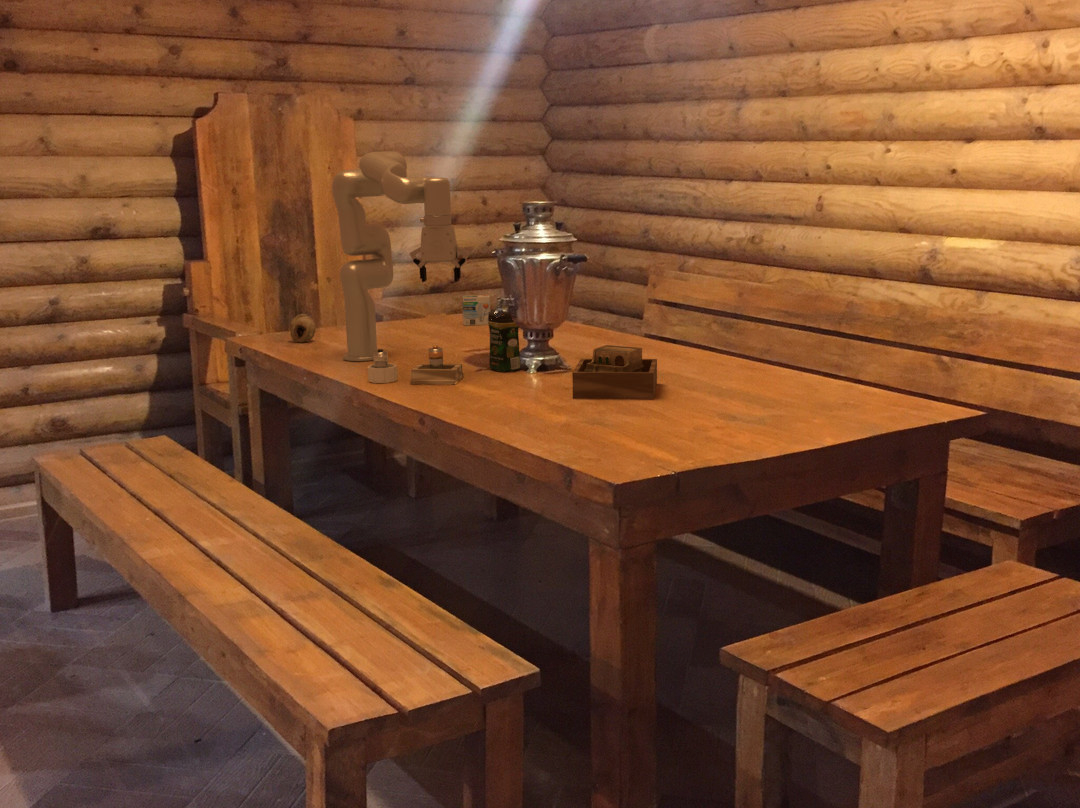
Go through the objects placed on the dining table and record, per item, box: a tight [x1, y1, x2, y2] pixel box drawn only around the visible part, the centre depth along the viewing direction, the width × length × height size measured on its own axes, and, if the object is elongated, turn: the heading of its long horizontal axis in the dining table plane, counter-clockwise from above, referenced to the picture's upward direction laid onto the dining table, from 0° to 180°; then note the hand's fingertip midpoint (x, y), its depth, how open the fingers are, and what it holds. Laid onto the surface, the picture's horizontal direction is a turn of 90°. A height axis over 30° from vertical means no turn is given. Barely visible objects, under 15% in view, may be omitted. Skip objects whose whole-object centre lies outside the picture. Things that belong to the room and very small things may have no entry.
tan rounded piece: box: [289, 313, 317, 344], centre depth 407 cm, size 10×8×10 cm
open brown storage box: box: [572, 358, 658, 400], centre depth 315 cm, size 20×21×7 cm
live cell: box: [428, 345, 444, 369], centre depth 334 cm, size 4×4×9 cm
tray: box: [409, 363, 464, 386], centre depth 335 cm, size 12×13×4 cm
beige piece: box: [367, 363, 398, 384], centre depth 336 cm, size 8×8×4 cm
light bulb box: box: [462, 294, 491, 326], centre depth 440 cm, size 11×7×11 cm, turn 95°
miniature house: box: [584, 344, 645, 372], centre depth 316 cm, size 15×14×11 cm
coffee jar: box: [488, 308, 521, 373], centre depth 347 cm, size 10×8×19 cm
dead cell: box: [373, 348, 389, 368], centre depth 336 cm, size 4×4×9 cm
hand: (440, 281), depth 334 cm, fingers open, 9 cm apart
